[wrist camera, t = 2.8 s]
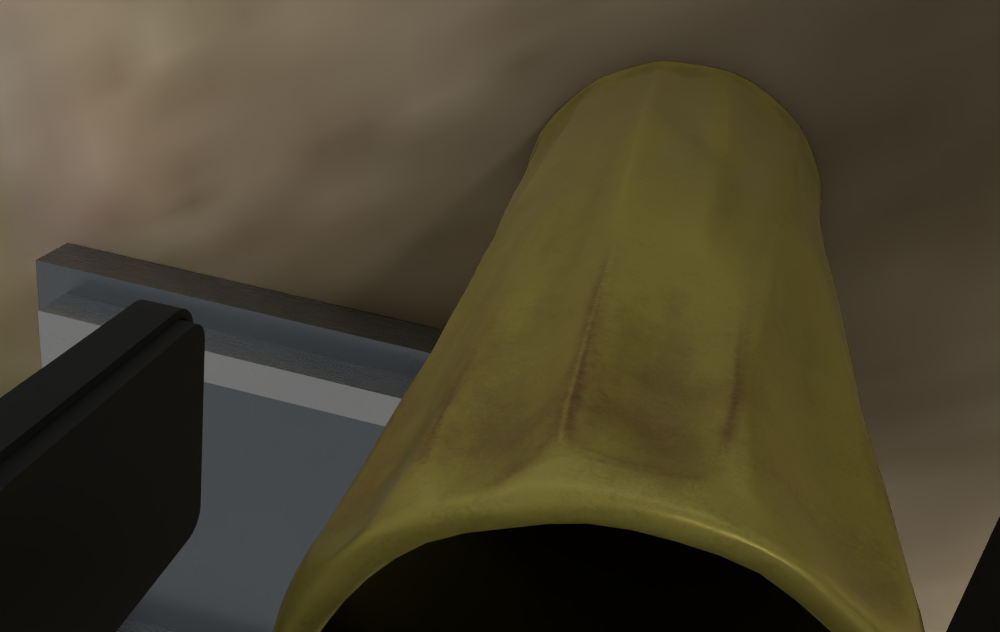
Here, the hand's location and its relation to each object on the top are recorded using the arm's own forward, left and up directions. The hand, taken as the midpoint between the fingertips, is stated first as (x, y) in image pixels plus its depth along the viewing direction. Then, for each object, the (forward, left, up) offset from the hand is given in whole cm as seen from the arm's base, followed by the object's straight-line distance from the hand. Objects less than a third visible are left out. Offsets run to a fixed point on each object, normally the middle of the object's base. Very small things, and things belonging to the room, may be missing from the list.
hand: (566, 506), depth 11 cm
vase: (-1, +1, -10) cm, 10 cm away
